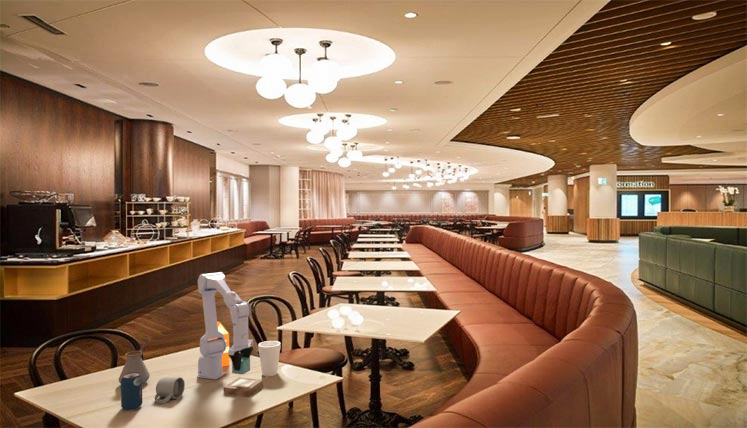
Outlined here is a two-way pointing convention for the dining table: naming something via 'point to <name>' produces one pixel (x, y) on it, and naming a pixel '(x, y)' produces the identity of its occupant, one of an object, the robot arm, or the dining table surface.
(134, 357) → the coffee pot
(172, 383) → the ceramic mug
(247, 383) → the walnut base
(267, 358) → the foam cup
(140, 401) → the soda can
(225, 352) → the orange juice
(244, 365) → the teal cube
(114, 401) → the dining table surface
